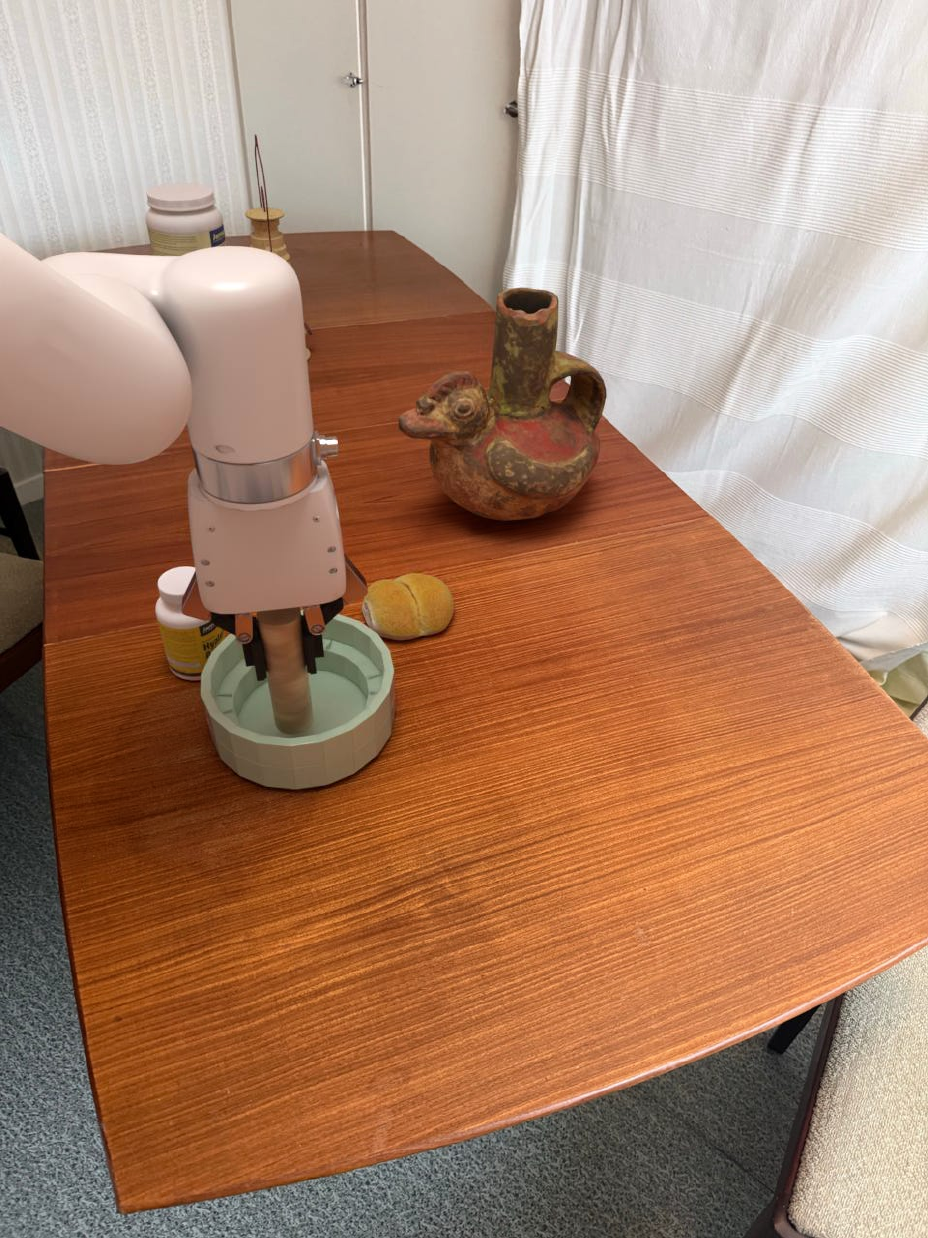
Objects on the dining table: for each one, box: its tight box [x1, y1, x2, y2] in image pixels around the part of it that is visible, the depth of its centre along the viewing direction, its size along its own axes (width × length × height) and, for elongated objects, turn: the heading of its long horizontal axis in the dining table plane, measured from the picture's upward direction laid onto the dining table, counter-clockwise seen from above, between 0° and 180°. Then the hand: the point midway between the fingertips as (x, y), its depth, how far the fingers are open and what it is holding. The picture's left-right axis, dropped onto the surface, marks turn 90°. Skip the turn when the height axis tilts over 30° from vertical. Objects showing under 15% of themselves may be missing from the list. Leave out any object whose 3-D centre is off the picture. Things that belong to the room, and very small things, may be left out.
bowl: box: [200, 609, 396, 790], centre depth 70 cm, size 16×16×6 cm
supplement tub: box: [145, 182, 228, 256], centre depth 138 cm, size 12×12×17 cm
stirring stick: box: [256, 607, 314, 735], centre depth 65 cm, size 3×3×12 cm
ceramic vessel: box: [397, 287, 608, 522], centre depth 90 cm, size 17×26×25 cm, turn 121°
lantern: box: [244, 133, 313, 361], centre depth 117 cm, size 12×10×30 cm
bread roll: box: [361, 572, 455, 641], centre depth 82 cm, size 8×9×4 cm
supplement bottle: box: [154, 565, 227, 681], centre depth 74 cm, size 5×5×10 cm
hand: (286, 663), depth 65 cm, fingers closed on stirring stick, 3 cm apart
